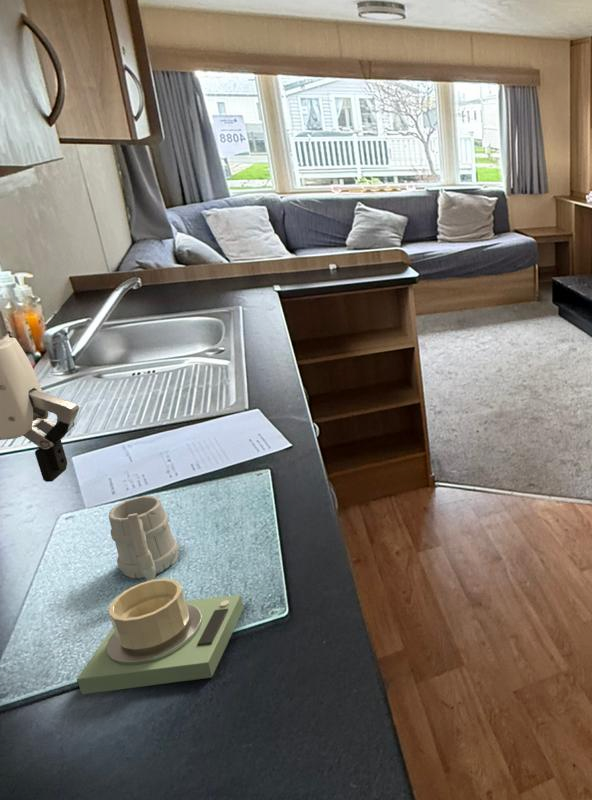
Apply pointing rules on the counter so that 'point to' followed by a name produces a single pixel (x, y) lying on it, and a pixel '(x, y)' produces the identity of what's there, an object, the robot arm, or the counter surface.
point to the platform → (160, 651)
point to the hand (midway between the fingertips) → (6, 478)
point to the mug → (142, 537)
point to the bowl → (149, 613)
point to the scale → (179, 666)
